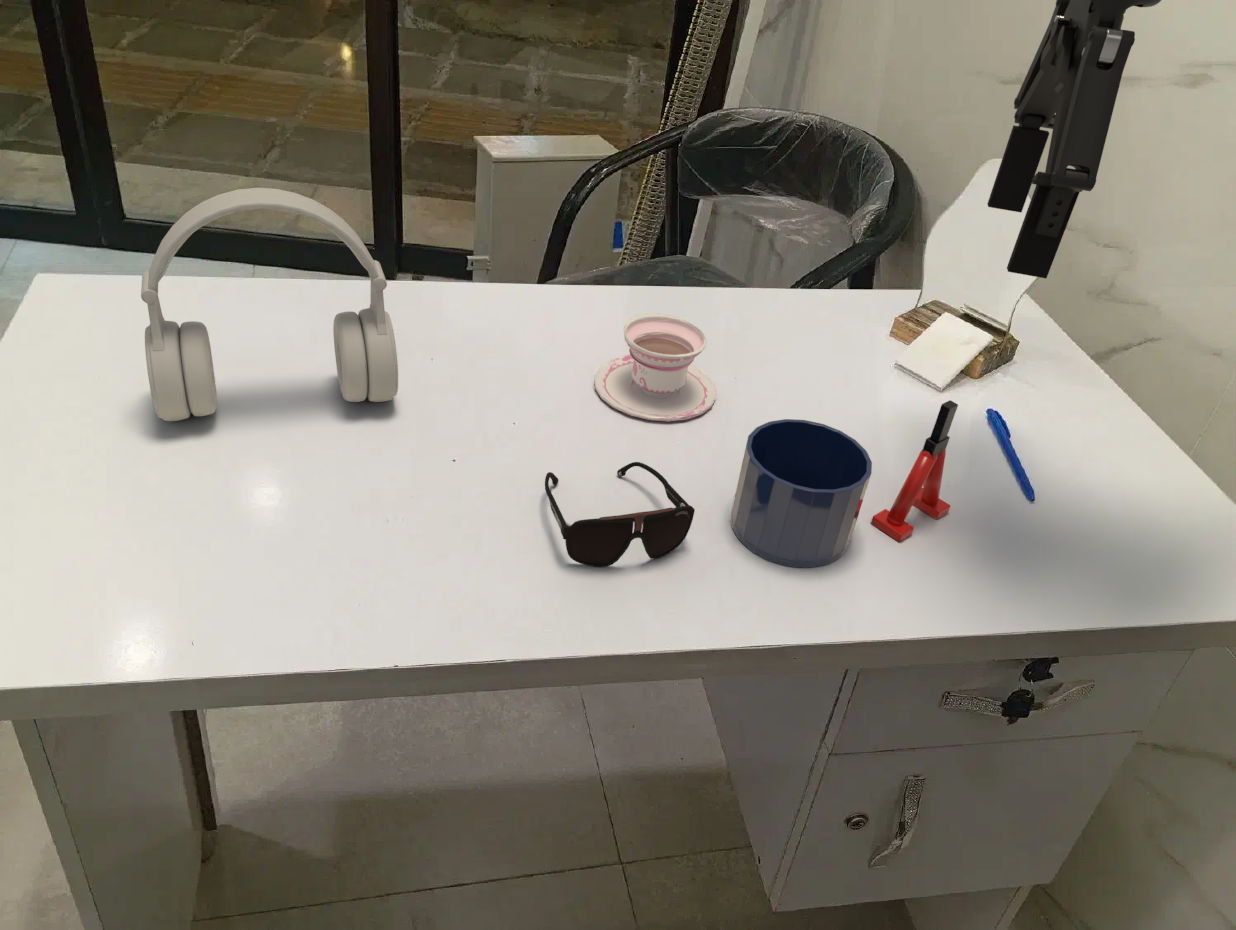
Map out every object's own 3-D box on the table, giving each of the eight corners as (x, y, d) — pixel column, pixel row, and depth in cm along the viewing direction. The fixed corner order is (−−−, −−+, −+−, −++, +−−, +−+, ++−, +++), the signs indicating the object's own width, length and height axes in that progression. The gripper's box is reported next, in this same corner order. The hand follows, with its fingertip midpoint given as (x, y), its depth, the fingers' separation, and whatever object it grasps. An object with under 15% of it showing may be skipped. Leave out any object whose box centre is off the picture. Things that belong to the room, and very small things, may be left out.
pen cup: (872, 538, 82) (897, 465, 78) (795, 584, 76) (817, 508, 72) (784, 478, 88) (802, 406, 83) (706, 517, 82) (721, 442, 78)
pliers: (948, 512, 86) (991, 400, 79) (899, 542, 82) (940, 426, 75) (919, 494, 88) (959, 383, 81) (870, 523, 84) (907, 408, 77)
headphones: (386, 370, 95) (379, 173, 84) (401, 418, 89) (396, 212, 78) (159, 389, 89) (118, 178, 77) (158, 442, 82) (113, 220, 71)
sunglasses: (568, 581, 74) (571, 524, 71) (526, 500, 83) (527, 448, 81) (698, 560, 77) (705, 505, 75) (643, 485, 87) (647, 434, 84)
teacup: (739, 410, 96) (750, 354, 92) (631, 434, 91) (638, 375, 87) (675, 351, 104) (683, 298, 101) (573, 369, 99) (578, 314, 95)
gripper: (1037, -95, 75) (953, 178, 87) (1102, -52, 55) (981, 296, 67) (1139, -81, 74) (1040, 193, 87) (1243, -32, 54) (1094, 316, 66)
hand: (1014, 239), depth 77 cm, fingers open, 13 cm apart
